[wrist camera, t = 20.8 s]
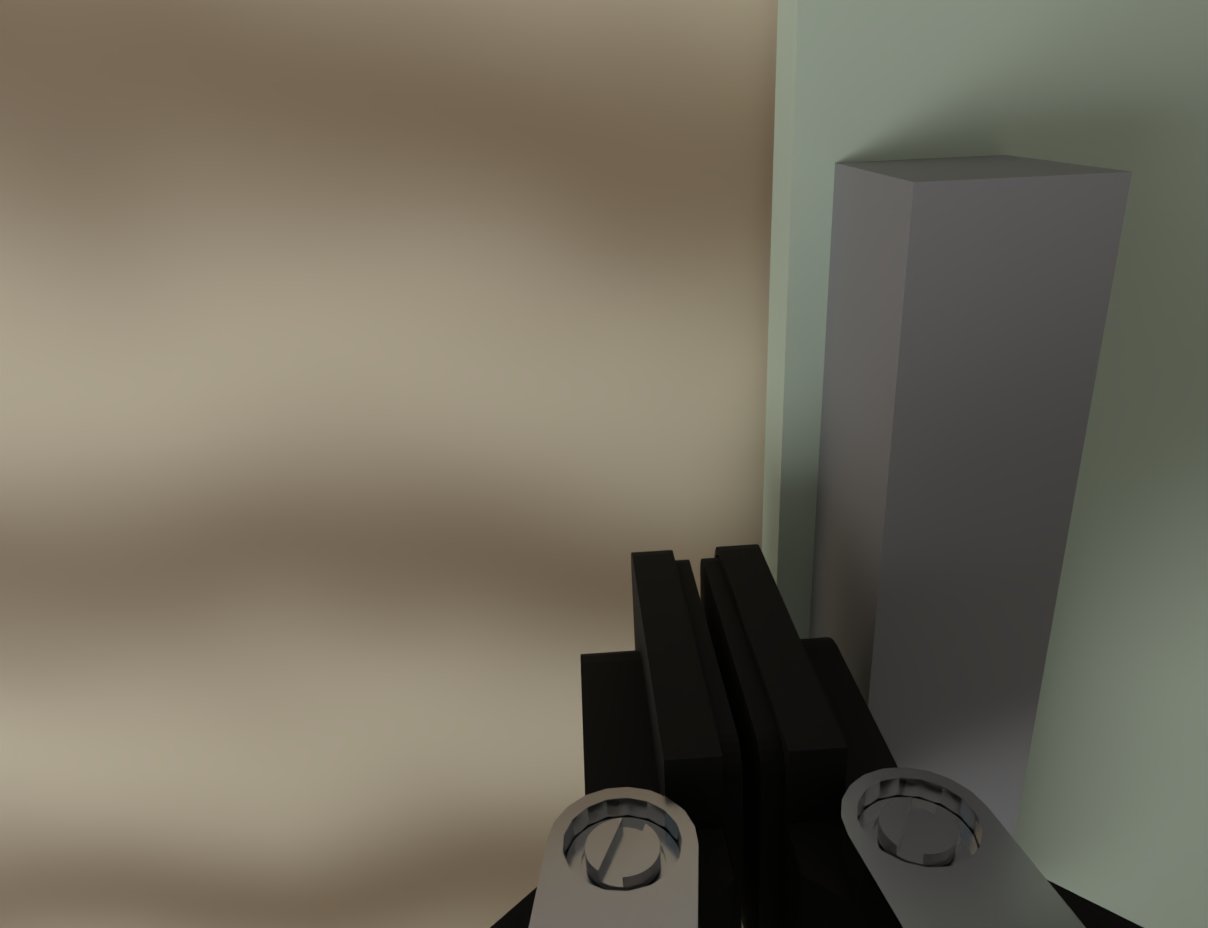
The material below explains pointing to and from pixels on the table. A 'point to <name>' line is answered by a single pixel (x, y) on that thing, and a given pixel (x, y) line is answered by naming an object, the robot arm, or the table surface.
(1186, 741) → the sliding lid
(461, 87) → the well frame
